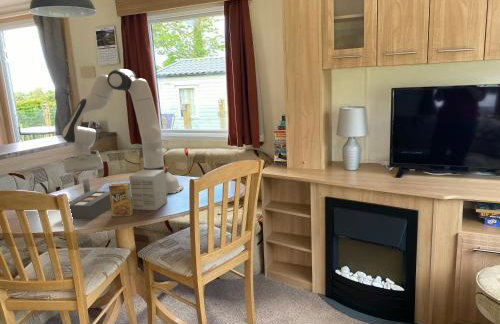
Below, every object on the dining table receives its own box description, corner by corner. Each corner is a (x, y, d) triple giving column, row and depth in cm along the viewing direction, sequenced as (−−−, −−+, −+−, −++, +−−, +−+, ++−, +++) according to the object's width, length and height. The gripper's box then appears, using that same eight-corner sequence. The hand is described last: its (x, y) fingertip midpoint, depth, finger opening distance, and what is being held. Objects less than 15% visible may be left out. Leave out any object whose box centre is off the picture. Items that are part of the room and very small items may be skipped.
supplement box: (144, 201, 205) (141, 169, 201) (167, 201, 202) (164, 169, 198) (132, 209, 193) (128, 175, 189) (156, 210, 190) (153, 176, 186)
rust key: (98, 203, 194) (97, 197, 193) (92, 206, 189) (91, 200, 188) (88, 203, 194) (87, 197, 194) (82, 206, 189) (81, 200, 189)
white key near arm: (105, 198, 200) (104, 193, 200) (99, 202, 195) (99, 196, 195) (96, 198, 201) (95, 193, 201) (90, 201, 196) (89, 196, 196)
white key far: (90, 207, 187) (89, 201, 186) (84, 211, 182) (83, 205, 181) (80, 207, 188) (79, 201, 187) (74, 211, 183) (73, 205, 182)
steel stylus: (91, 199, 213) (88, 178, 210) (91, 200, 210) (88, 179, 207) (85, 200, 211) (82, 178, 209) (85, 201, 209) (82, 180, 206)
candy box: (112, 217, 183) (108, 186, 180) (115, 213, 187) (111, 183, 184) (130, 216, 183) (127, 185, 180) (133, 213, 187) (129, 182, 184)
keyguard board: (115, 204, 202) (113, 191, 200) (91, 219, 181) (89, 205, 179) (90, 204, 204) (89, 191, 202) (64, 219, 183) (62, 205, 181)
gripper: (62, 155, 214) (64, 176, 207) (101, 151, 222) (104, 171, 215) (63, 161, 219) (65, 182, 212) (101, 157, 227) (104, 177, 220)
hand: (85, 176), depth 214 cm, fingers open, 8 cm apart
